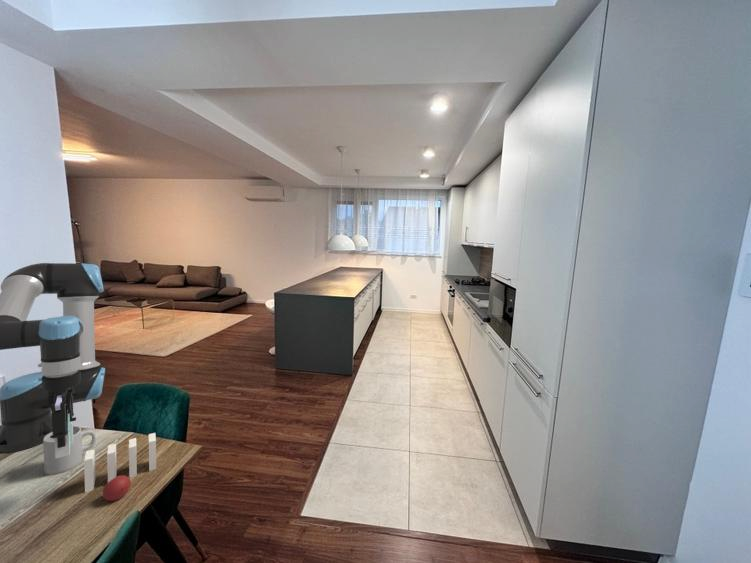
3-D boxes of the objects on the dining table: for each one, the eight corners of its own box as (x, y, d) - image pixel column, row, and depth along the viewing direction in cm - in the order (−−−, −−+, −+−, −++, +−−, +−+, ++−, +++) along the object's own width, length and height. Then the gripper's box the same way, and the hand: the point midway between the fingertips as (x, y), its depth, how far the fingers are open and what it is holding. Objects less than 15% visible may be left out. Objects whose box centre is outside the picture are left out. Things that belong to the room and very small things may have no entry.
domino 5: (149, 471, 95) (149, 442, 94) (149, 462, 99) (148, 434, 98) (156, 468, 96) (155, 440, 96) (155, 459, 100) (155, 432, 99)
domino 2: (85, 492, 86) (84, 460, 85) (87, 481, 90) (86, 451, 89) (93, 489, 87) (92, 458, 86) (95, 479, 91) (94, 449, 90)
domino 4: (129, 477, 92) (128, 448, 91) (129, 468, 96) (129, 439, 95) (136, 475, 93) (136, 446, 92) (136, 465, 97) (136, 437, 96)
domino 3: (108, 484, 89) (107, 454, 88) (109, 474, 93) (108, 445, 92) (115, 482, 90) (115, 452, 89) (116, 472, 94) (116, 443, 93)
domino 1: (58, 457, 81) (56, 423, 80) (61, 447, 85) (60, 415, 84) (67, 454, 83) (66, 421, 82) (70, 445, 86) (69, 413, 85)
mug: (45, 479, 90) (44, 445, 89) (43, 465, 95) (41, 433, 94) (98, 459, 99) (97, 428, 98) (93, 447, 104) (92, 418, 103)
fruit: (107, 512, 82) (114, 495, 80) (97, 495, 84) (104, 478, 82) (132, 496, 88) (139, 479, 86) (123, 481, 90) (130, 464, 87)
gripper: (49, 364, 86) (52, 438, 88) (32, 388, 72) (36, 475, 75) (84, 359, 91) (87, 430, 93) (75, 381, 77) (78, 463, 79)
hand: (64, 450), depth 84 cm, fingers closed on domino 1, 5 cm apart
